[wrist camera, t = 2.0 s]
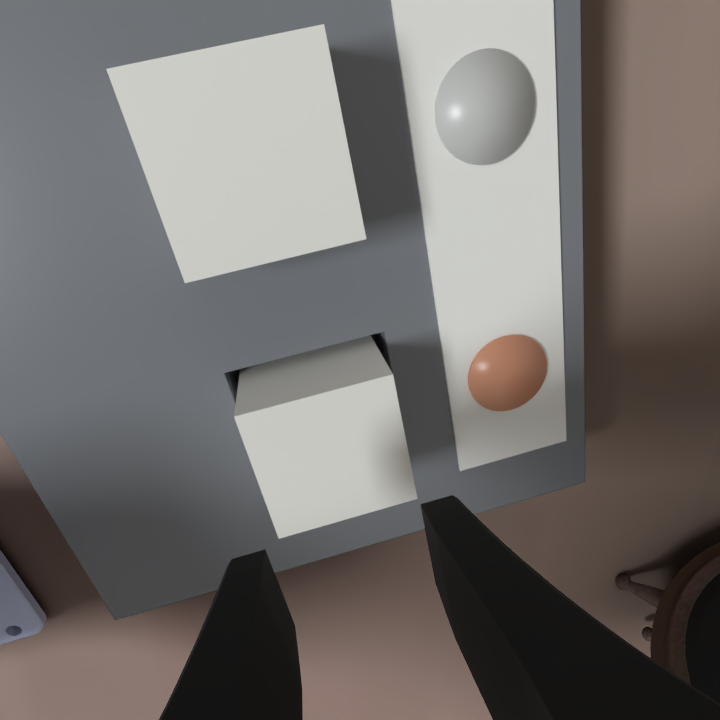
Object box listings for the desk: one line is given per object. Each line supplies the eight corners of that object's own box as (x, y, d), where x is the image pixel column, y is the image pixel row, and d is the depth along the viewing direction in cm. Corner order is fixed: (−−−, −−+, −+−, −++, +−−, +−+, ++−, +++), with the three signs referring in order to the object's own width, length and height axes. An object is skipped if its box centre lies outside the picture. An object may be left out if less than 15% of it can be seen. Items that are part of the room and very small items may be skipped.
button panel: (138, 550, 18) (113, 626, 15) (-422, -494, 8) (-815, -864, 5) (540, 435, 19) (589, 485, 16) (481, -591, 9) (580, -933, 6)
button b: (204, 254, 13) (184, 283, 10) (148, 91, 11) (106, 68, 8) (344, 220, 13) (366, 239, 10) (309, 58, 11) (324, 23, 8)
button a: (276, 467, 16) (278, 539, 13) (241, 362, 14) (234, 416, 11) (390, 435, 16) (417, 498, 13) (367, 329, 14) (392, 374, 11)
